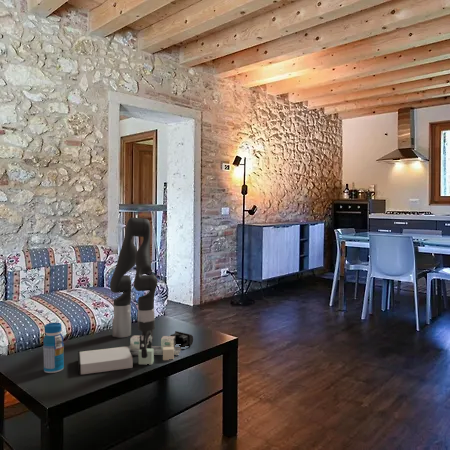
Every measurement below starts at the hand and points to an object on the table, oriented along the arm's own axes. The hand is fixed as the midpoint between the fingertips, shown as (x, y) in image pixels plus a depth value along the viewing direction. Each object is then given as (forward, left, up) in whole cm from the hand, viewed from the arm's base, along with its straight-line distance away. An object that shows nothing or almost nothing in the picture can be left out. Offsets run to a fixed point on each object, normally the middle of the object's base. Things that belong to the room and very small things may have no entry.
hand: (146, 354), depth 190 cm
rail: (0, +13, -4) cm, 14 cm away
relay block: (+9, +6, -4) cm, 11 cm away
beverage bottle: (-38, -11, -4) cm, 40 cm away
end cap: (+12, +24, -4) cm, 27 cm away
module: (0, 0, -4) cm, 4 cm away
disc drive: (-19, -3, -5) cm, 19 cm away
